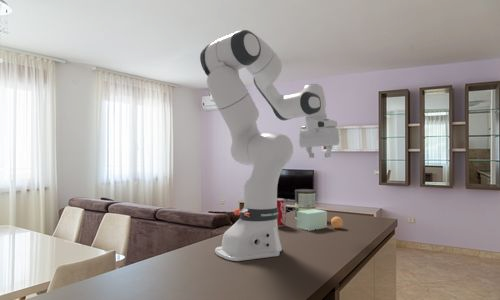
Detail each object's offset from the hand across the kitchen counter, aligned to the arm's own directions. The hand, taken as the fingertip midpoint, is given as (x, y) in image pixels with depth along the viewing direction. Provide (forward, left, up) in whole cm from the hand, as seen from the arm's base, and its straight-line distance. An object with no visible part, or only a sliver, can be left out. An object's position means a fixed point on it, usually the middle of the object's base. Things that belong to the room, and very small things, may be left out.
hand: (319, 157), depth 141 cm
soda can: (-7, +18, -31) cm, 37 cm away
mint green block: (+3, +7, -31) cm, 31 cm away
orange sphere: (+11, 0, -28) cm, 30 cm away
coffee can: (+15, +24, -31) cm, 42 cm away
